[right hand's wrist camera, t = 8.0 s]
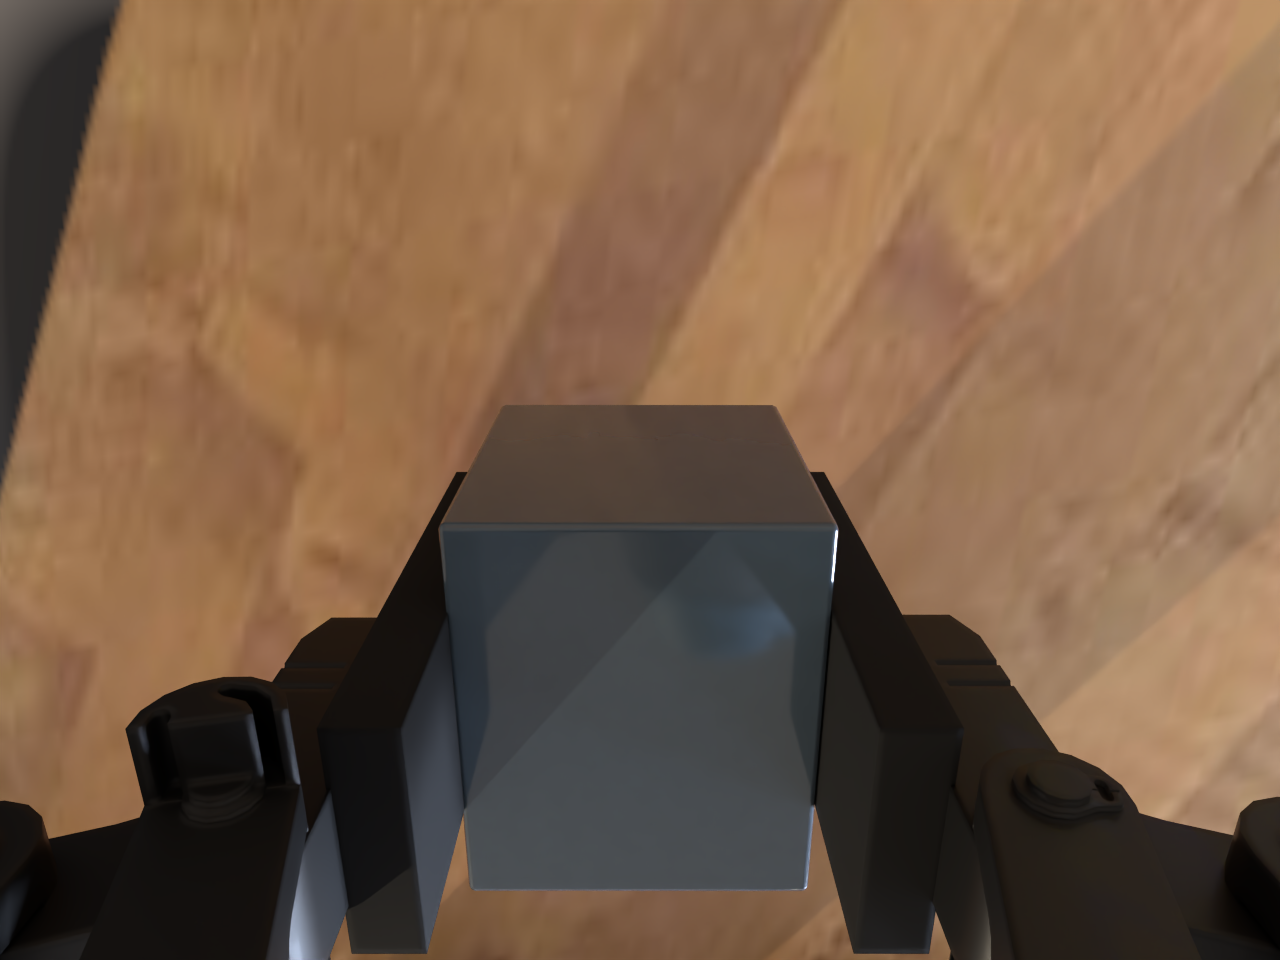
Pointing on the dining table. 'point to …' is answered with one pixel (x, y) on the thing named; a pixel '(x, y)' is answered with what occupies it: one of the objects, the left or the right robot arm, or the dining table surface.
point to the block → (638, 648)
